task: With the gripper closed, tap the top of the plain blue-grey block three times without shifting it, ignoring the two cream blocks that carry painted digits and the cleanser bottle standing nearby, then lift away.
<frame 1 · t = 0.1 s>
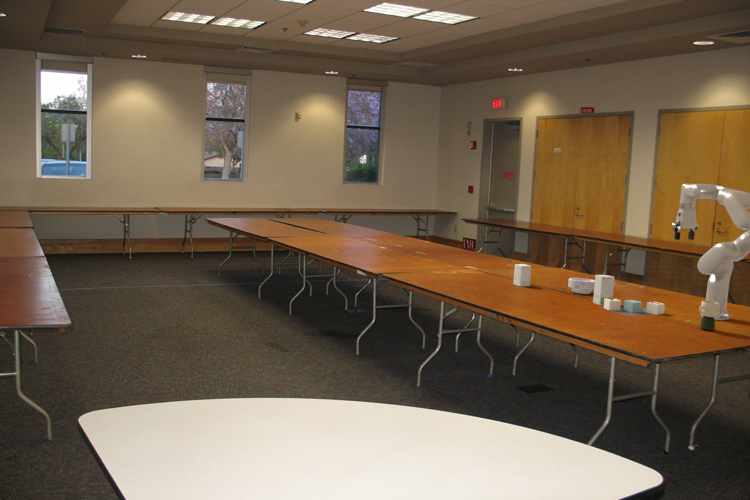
hand: (683, 239, 348), 37 cm above the table, tool pointing down, fingers open, 9 cm apart
digit block seven: (611, 309, 339), resting on mat
digit block one: (654, 312, 334), resting on mat
mat: (632, 311, 337), on the table
skincare box: (602, 304, 353), on the table
plain block: (632, 306, 336), on the mat
paper bowls: (581, 293, 384), on the table
supplement box: (521, 285, 401), on the table
character mug: (707, 330, 304), on the table
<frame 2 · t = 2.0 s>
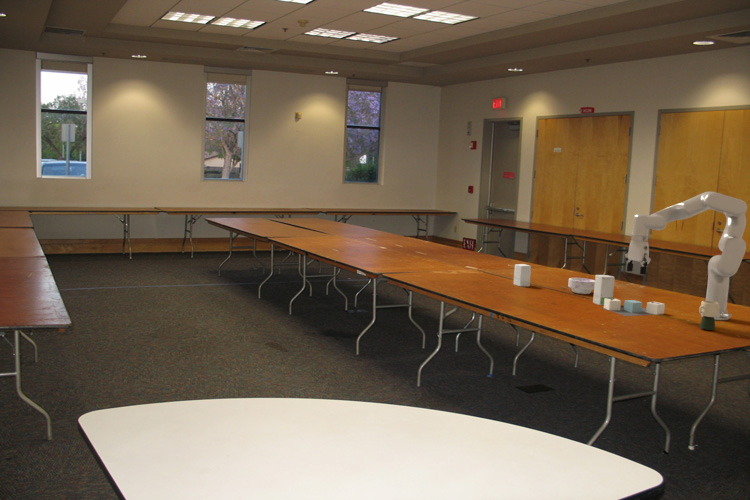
hand: (636, 272, 334), 20 cm above the table, tool pointing down, fingers open, 8 cm apart
nothing on the table moved.
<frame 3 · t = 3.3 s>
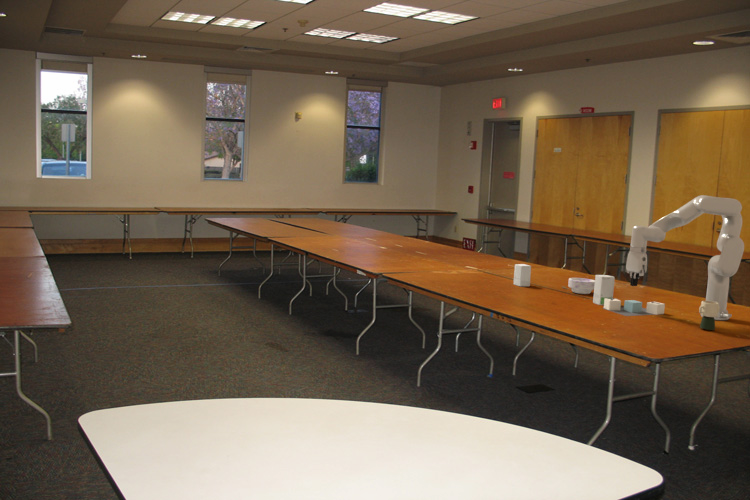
hand: (633, 285, 335), 14 cm above the table, tool pointing down, fingers closed
nothing on the table moved.
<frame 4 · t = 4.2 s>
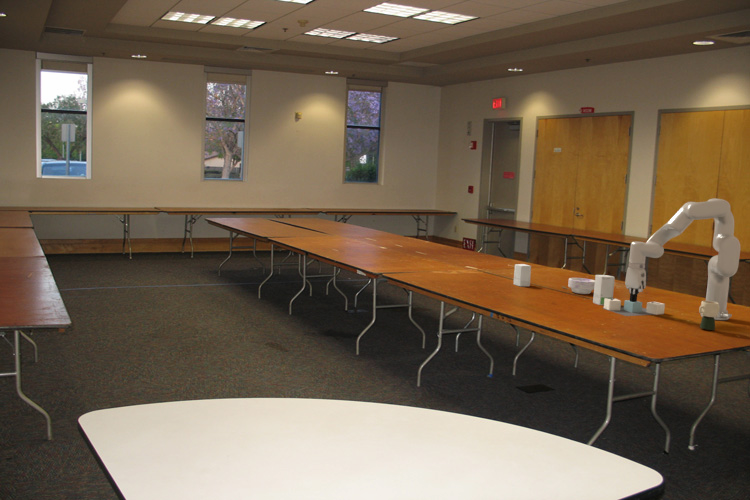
hand: (633, 301, 336), 5 cm above the table, tool pointing down, fingers closed
plain block: (632, 306, 336), on the mat, touching gripper
everything else where it was.
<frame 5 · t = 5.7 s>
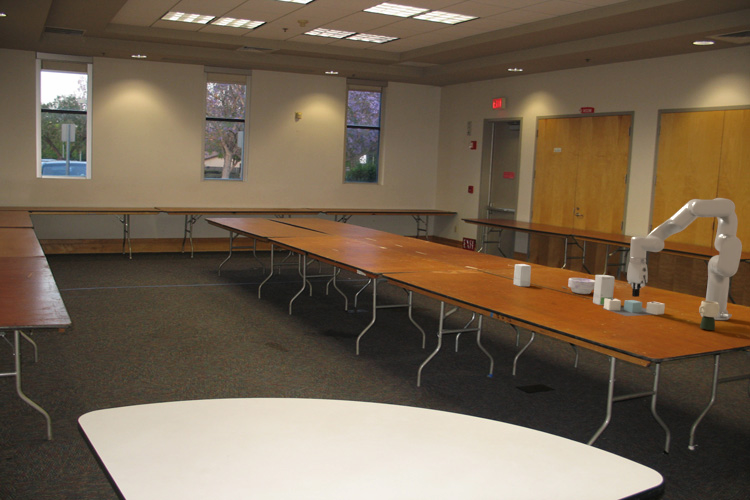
hand: (635, 296, 336), 8 cm above the table, tool pointing down, fingers closed
plain block: (632, 306, 336), on the mat
everything else where it was.
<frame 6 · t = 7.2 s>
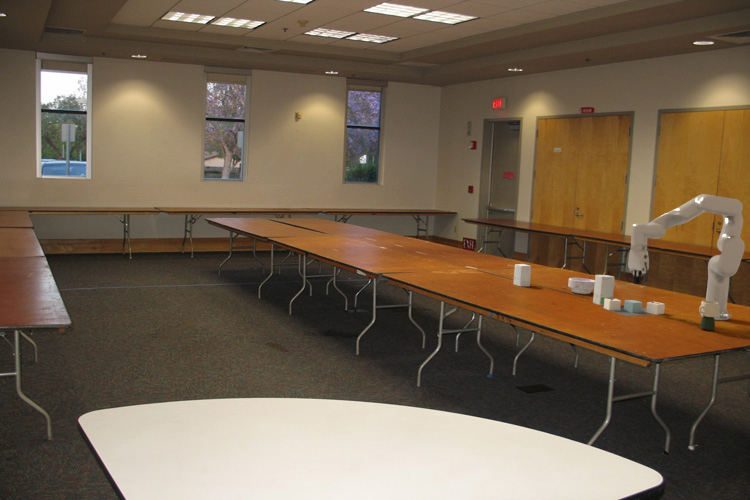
hand: (637, 283, 335), 15 cm above the table, tool pointing down, fingers closed
nothing on the table moved.
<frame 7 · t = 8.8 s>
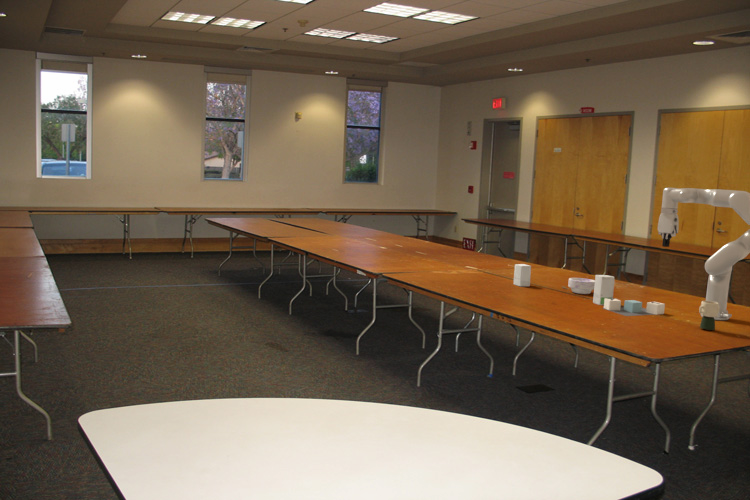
hand: (665, 246, 344), 33 cm above the table, tool pointing down, fingers closed
nothing on the table moved.
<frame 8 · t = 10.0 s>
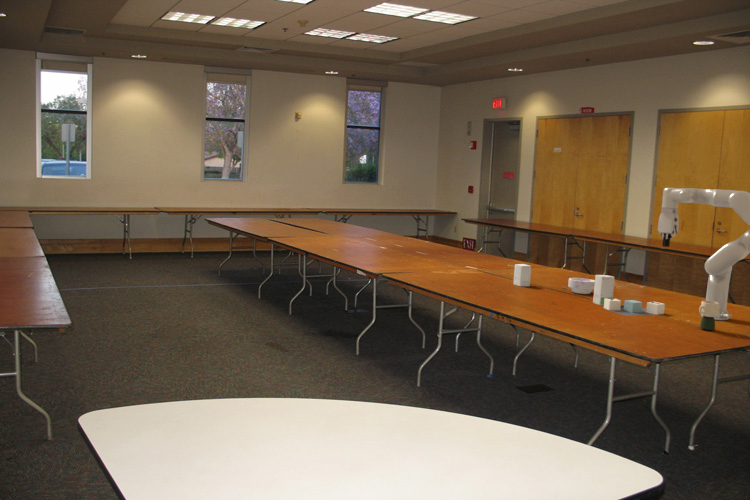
hand: (665, 246, 344), 33 cm above the table, tool pointing down, fingers closed
nothing on the table moved.
at the end: plain block moved 0.0 cm from its start; plain block tilted 0°; digit block seven moved 0.0 cm from its start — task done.
